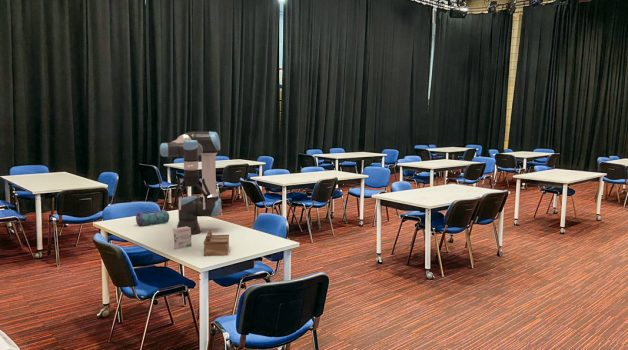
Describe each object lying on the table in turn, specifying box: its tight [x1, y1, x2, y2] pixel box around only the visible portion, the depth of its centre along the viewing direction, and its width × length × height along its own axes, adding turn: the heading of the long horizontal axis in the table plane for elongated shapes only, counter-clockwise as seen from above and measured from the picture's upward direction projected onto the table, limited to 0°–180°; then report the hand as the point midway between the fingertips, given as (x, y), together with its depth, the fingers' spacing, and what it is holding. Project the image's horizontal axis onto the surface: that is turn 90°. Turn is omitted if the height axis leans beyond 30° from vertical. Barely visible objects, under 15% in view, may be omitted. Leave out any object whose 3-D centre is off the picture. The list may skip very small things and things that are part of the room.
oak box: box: [203, 238, 230, 257], centre depth 260 cm, size 16×12×7 cm
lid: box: [203, 229, 230, 245], centre depth 259 cm, size 17×12×4 cm
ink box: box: [172, 227, 192, 250], centre depth 269 cm, size 9×5×12 cm, turn 131°
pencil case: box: [135, 209, 170, 227], centre depth 331 cm, size 21×9×10 cm, turn 132°
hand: (192, 209), depth 256 cm, fingers open, 12 cm apart
